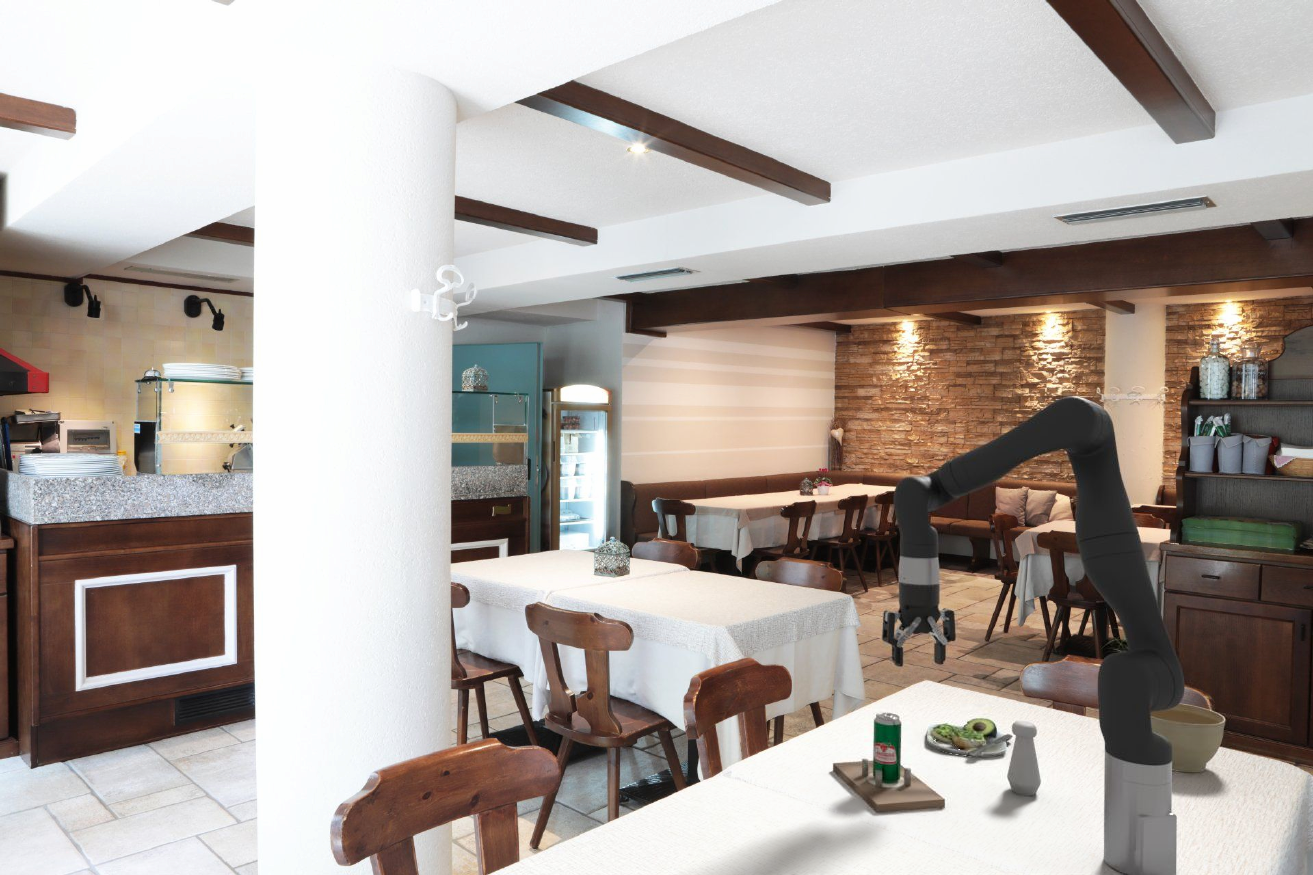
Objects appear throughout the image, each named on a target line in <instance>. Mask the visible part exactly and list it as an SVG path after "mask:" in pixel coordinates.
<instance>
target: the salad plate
mask: <svg viewBox="0 0 1313 875" xmlns="http://www.w3.org/2000/svg"><path fill="white" fill-rule="evenodd" d="M997 729H998V728H997V725H996V724H995V722H994V721H993V720H991V719H988V718H983V717H981V718H979V717H978V718H972V719H970V720H968V721H966V724H964V725H963V726H961V725H956V724H948V723H947V722H946V723H945V722H944V723H938V724H937V723H936V724H933V725H930V726H929V727H928V728H927V730H926V741H927V743H928V744H929V745H930V746H932V747H933V749H935V748H936V749H935V750H937V749H938V750H937V751H939V750H940V752H942V751H944V752H943V753H945V752H947V753H946V754H948V753H952V754H951V755H953V754H958V755H957V756H961V755H966V756H965V757H968V756H971V757H970V758H989V757H988V756H990V757H996V756H999V755H1003V754H1004V753H1005V752H1006V751H1007V742H1009V741H1010V740H1011V739H1012V738H1013V734H1008V733H1006V734H1003V733H1001V732H999V731H998V730H997ZM935 739H938V740H937V741H940V740H942V741H941V742H943V741H944V742H943V743H946V742H949V743H948V744H950V743H952V744H951V745H953V744H954V745H956V746H955V749H954V748H951V747H947V746H944V745H941V744H939V743H938V742H937V743H938V744H937V743H936V742H935V741H934V740H935ZM954 745H953V746H954ZM956 747H957V748H958V749H960V750H957V749H956ZM995 755H996V756H995Z"/></svg>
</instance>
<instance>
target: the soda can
mask: <svg viewBox="0 0 1313 875" xmlns="http://www.w3.org/2000/svg"><path fill="white" fill-rule="evenodd" d="M872 742H873V745H872V746H873V750H872V751H873V752H872V753H873V754H872V755H873V756H872V760H873V776H874V778H875V771H876V770H881V771H882V782H883V783H896V782H898V781H899V780H900V773H901V765H902V763H901V762H902V722H901V720H900V716H899V715H898V714H896V713H892V712H878V713H876V714H875V717H874V719H873V740H872Z"/></svg>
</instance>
